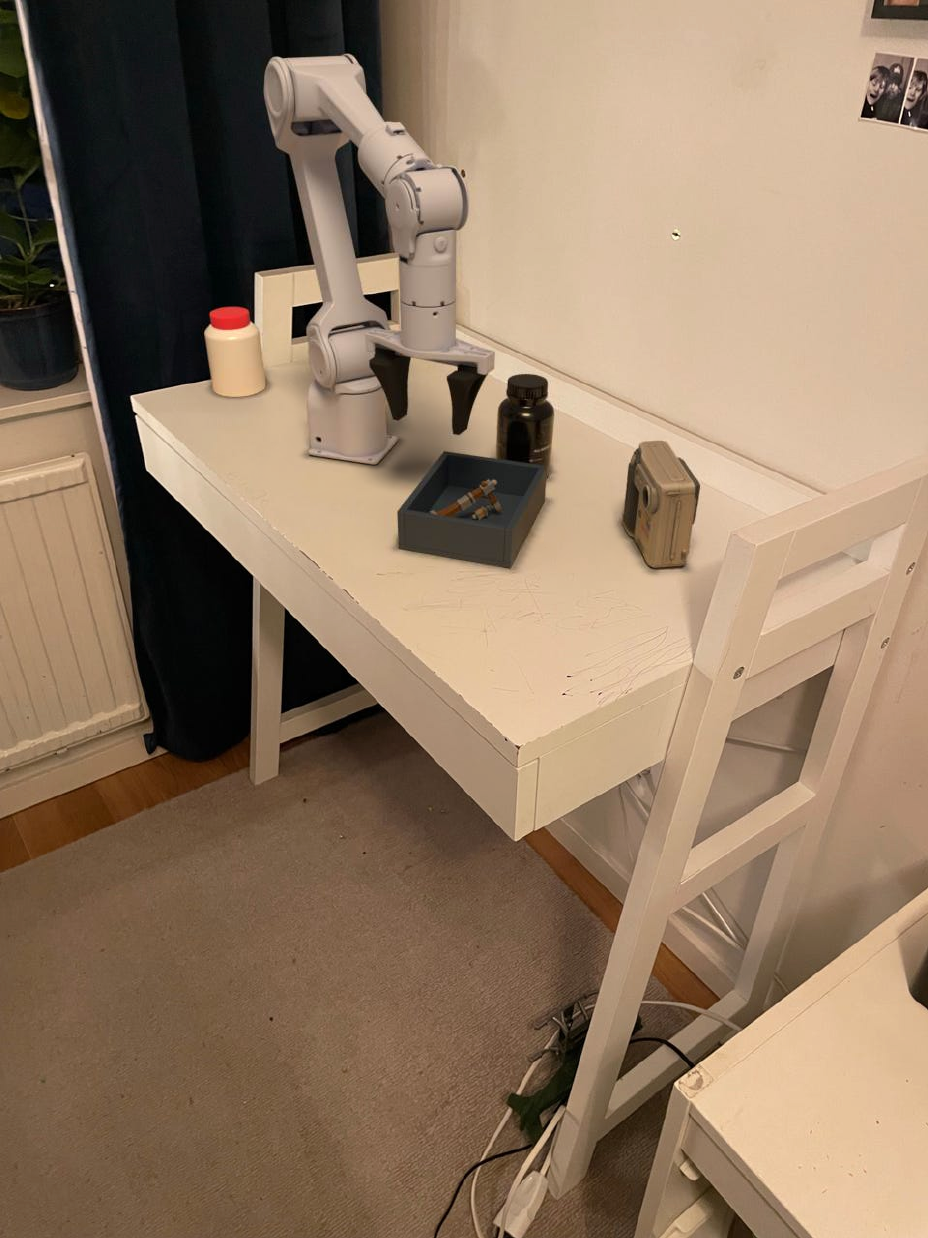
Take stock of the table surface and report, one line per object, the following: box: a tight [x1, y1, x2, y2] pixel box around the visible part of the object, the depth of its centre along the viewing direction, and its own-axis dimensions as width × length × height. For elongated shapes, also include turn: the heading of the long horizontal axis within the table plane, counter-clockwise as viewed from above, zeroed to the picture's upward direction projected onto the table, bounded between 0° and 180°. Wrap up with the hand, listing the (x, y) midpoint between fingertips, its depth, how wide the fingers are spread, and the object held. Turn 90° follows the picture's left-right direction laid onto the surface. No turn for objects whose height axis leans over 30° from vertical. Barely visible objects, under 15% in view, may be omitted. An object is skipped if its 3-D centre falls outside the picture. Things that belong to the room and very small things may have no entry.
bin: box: [396, 450, 548, 569], centre depth 104 cm, size 13×16×5 cm
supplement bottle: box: [495, 373, 555, 477], centre depth 113 cm, size 7×7×12 cm
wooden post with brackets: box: [431, 479, 502, 520], centre depth 104 cm, size 2×8×4 cm, turn 113°
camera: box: [622, 440, 701, 569], centre depth 100 cm, size 11×6×10 cm, turn 4°
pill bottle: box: [203, 306, 267, 398], centre depth 135 cm, size 8×8×11 cm
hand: (429, 424), depth 103 cm, fingers open, 7 cm apart
